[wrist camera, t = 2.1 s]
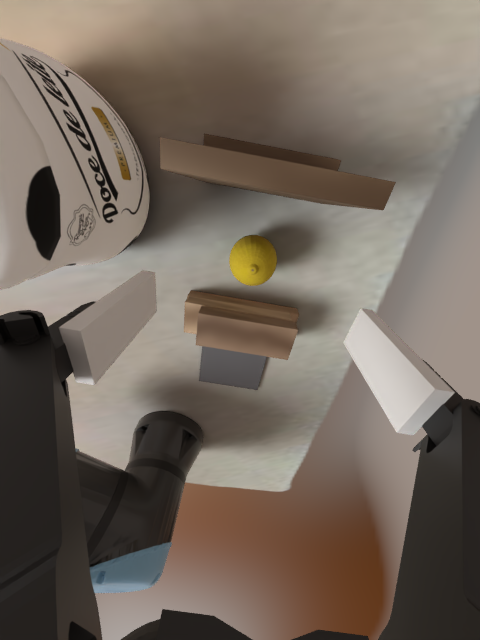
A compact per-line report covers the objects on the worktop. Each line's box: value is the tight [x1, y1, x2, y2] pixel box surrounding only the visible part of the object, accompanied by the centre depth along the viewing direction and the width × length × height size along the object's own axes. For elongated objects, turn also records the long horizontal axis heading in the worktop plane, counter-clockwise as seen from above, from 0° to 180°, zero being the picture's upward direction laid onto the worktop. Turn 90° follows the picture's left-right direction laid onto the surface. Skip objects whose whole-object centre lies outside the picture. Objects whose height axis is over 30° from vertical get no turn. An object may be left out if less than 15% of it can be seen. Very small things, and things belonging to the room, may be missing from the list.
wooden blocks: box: [160, 134, 396, 360], centre depth 23 cm, size 23×16×14 cm
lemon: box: [229, 235, 277, 286], centre depth 26 cm, size 6×6×8 cm
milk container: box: [0, 38, 150, 290], centre depth 18 cm, size 17×17×18 cm
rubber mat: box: [199, 346, 267, 390], centre depth 38 cm, size 11×11×1 cm
